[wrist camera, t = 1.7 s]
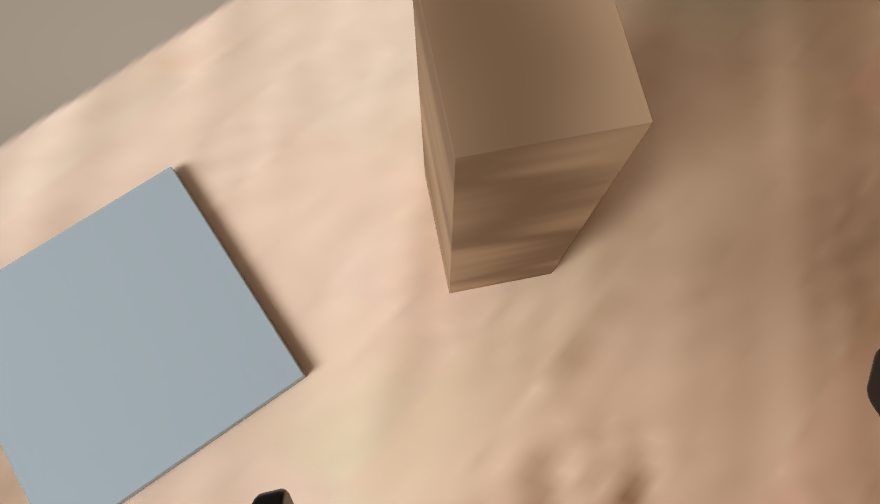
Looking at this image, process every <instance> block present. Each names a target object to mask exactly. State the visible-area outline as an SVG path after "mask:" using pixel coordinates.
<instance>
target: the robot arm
mask: <svg viewBox="0 0 880 504" xmlns="http://www.w3.org/2000/svg"><path fill="white" fill-rule="evenodd" d="M867 393H868V397H869V399H870V402H871V404H872V405H873V407H874V408H875V410H876V411H877V413H878V414H879V416H880V349H879V350H878V351H877V352H876V354H875V356H874V360H873V364H872V368H871V372H870V376H869V380H868V384H867ZM252 504H294V503H293V501H292V499H291V496H290V494H289V493H288V491H287V490H285V489H278V490H274V491H269V492H265V493H262V494H259V495H258V496H257V497H256V498H255V499H254V501H253V503H252Z"/></svg>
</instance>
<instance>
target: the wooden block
mask: <svg viewBox="0 0 880 504" xmlns="http://www.w3.org/2000/svg"><path fill="white" fill-rule="evenodd" d="M413 8H414V22H415V37H416V51H417V65H418V80H419V94H420V108H421V122H422V137H423V151H424V165H425V176H426V181H427V186H428V191H429V196H430V200H431V205H432V210H433V215H434V220H435V225H436V230H437V235H438V240H439V244H440V249H441V254H442V259H443V264H444V269H445V274H446V279H447V283H448V288H449V293H453V292H458V291H463V290H468V289H473V288H479V287H484V286H489V285H494V284H499V283H504V282H510V281H515V280H520V279H525V278H530V277H535V276H541V275H546V274H551V273H552V271H553V270H554V268H555V267H556V265H557V264H558V262H559V261H560V259H561V258H562V257H563V255H564V254H565V252H566V251H567V249H568V248H569V246H570V245H571V243H572V242H573V240H574V239H575V237H576V236H577V234H578V233H579V231H580V230H581V228H582V227H583V225H584V224H585V222H586V221H587V219H588V218H589V216H590V215H591V213H592V212H593V210H594V209H595V207H596V206H597V204H598V203H599V201H600V200H601V199H602V197H603V196H604V194H605V193H606V191H607V190H608V188H609V187H610V185H611V184H612V182H613V181H614V179H615V178H616V176H617V175H618V173H619V172H620V170H621V169H622V167H623V166H624V164H625V163H626V161H627V160H628V158H629V157H630V155H631V154H632V152H633V151H634V149H635V148H636V146H637V145H638V143H639V142H640V141H641V139H642V138H643V136H644V135H645V133H646V132H647V130H648V129H649V127H650V126H651V124H652V123H653V121H652V118H651V114H650V111H649V108H648V105H647V102H646V99H645V95H644V92H643V89H642V86H641V83H640V80H639V76H638V73H637V70H636V67H635V64H634V61H633V58H632V54H631V51H630V48H629V45H628V42H627V39H626V35H625V32H624V29H623V26H622V23H621V20H620V16H619V13H618V10H617V7H616V4H615V1H614V0H413Z"/></svg>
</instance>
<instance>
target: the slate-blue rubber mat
mask: <svg viewBox="0 0 880 504" xmlns="http://www.w3.org/2000/svg"><path fill="white" fill-rule="evenodd" d="M305 377H306V376H305V374H304V373H303V371H302V369H301V368H300V366H299V365H298V363H297V362H296V360H295V358H294V357H293V355H292V354H291V352H290V351H289V349H288V347H287V346H286V344H285V343H284V341H283V340H282V338H281V336H280V335H279V333H278V332H277V330H276V329H275V327H274V325H273V324H272V322H271V321H270V319H269V318H268V316H267V314H266V313H265V311H264V310H263V308H262V307H261V305H260V303H259V302H258V300H257V299H256V297H255V296H254V294H253V292H252V291H251V289H250V288H249V286H248V285H247V283H246V281H245V280H244V278H243V277H242V275H241V274H240V272H239V270H238V269H237V267H236V266H235V264H234V263H233V261H232V259H231V258H230V256H229V255H228V253H227V252H226V250H225V248H224V247H223V245H222V244H221V242H220V241H219V239H218V237H217V236H216V234H215V233H214V231H213V230H212V228H211V226H210V225H209V223H208V222H207V220H206V219H205V217H204V215H203V214H202V212H201V211H200V209H199V208H198V206H197V204H196V203H195V201H194V200H193V198H192V196H191V195H190V193H189V192H188V190H187V189H186V187H185V185H184V184H183V182H182V181H181V179H180V178H179V176H178V174H177V173H176V171H175V170H174V169H172V168H171V167H169V168H168V169H166V170H164V171H163V172H161V173H159V174H158V175H156V176H154V177H153V178H151V179H149V180H148V181H146V182H144V183H143V184H141V185H139V186H138V187H136V188H134V189H133V190H131V191H130V192H128V193H126V194H125V195H123V196H121V197H120V198H118V199H116V200H115V201H113V202H111V203H110V204H108V205H106V206H105V207H103V208H101V209H100V210H98V211H97V212H95V213H93V214H92V215H90V216H88V217H87V218H85V219H83V220H82V221H80V222H78V223H77V224H75V225H73V226H72V227H70V228H68V229H67V230H65V231H64V232H62V233H60V234H59V235H57V236H55V237H54V238H52V239H50V240H49V241H47V242H45V243H44V244H42V245H40V246H39V247H37V248H35V249H34V250H32V251H30V252H29V253H27V254H26V255H24V256H22V257H21V258H19V259H17V260H16V261H14V262H12V263H11V264H9V265H7V266H6V267H4V268H2V269H1V270H0V444H1V446H2V448H3V450H4V452H5V454H6V456H7V458H8V460H9V462H10V464H11V466H12V468H13V470H14V472H15V474H16V476H17V478H18V480H19V482H20V484H21V486H22V489H23V491H24V493H25V495H26V497H27V499H28V501H29V503H30V504H122V503H123V502H125V501H126V500H128V499H129V498H131V497H132V496H134V495H135V494H136V493H138V492H139V491H141V490H142V489H144V488H145V487H147V486H148V485H150V484H151V483H152V482H154V481H155V480H157V479H158V478H160V477H161V476H163V475H164V474H166V473H167V472H168V471H170V470H171V469H173V468H174V467H176V466H177V465H179V464H180V463H182V462H183V461H184V460H186V459H187V458H189V457H190V456H192V455H193V454H195V453H196V452H198V451H199V450H200V449H202V448H203V447H205V446H206V445H208V444H209V443H211V442H212V441H214V440H215V439H216V438H218V437H219V436H221V435H222V434H224V433H225V432H227V431H228V430H230V429H231V428H232V427H234V426H235V425H237V424H238V423H240V422H241V421H243V420H244V419H246V418H247V417H248V416H250V415H251V414H253V413H254V412H256V411H257V410H259V409H260V408H262V407H263V406H264V405H266V404H267V403H269V402H270V401H272V400H273V399H275V398H276V397H278V396H279V395H280V394H282V393H283V392H285V391H286V390H288V389H289V388H291V387H292V386H294V385H295V384H296V383H298V382H299V381H301V380H302V379H304V378H305Z"/></svg>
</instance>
